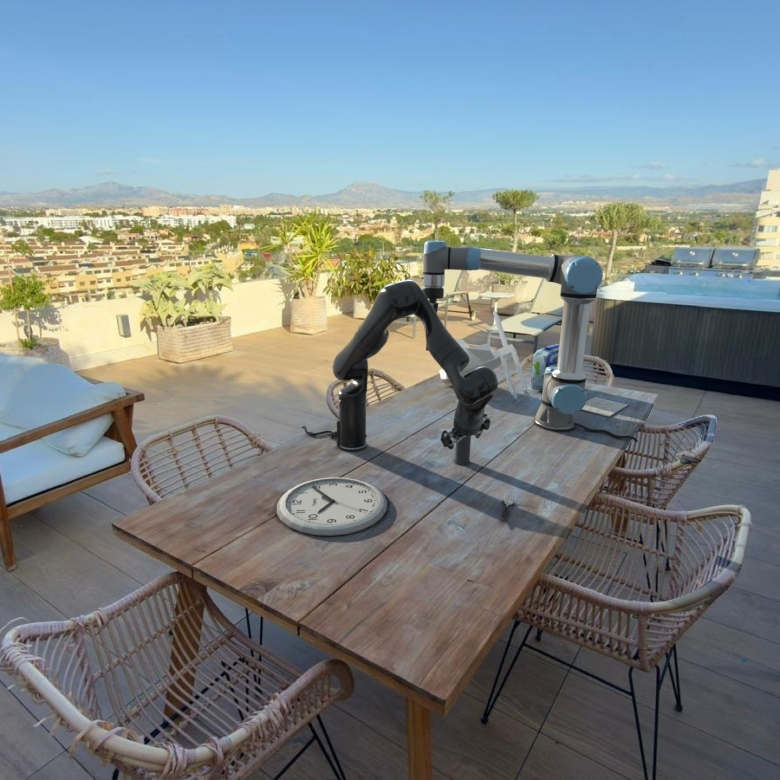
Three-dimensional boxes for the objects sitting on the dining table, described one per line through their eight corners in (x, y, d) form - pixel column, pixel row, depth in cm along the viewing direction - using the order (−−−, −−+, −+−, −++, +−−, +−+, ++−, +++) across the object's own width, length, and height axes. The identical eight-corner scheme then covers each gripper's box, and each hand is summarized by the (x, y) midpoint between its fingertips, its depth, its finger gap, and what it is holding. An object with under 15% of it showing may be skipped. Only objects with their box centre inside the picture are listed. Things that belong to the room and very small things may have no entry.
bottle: (466, 458, 173) (470, 392, 167) (471, 464, 169) (476, 397, 162) (452, 459, 172) (456, 393, 166) (457, 465, 168) (461, 397, 161)
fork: (496, 524, 135) (497, 517, 134) (505, 496, 149) (506, 489, 148) (506, 526, 134) (507, 519, 133) (514, 497, 148) (515, 491, 148)
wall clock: (392, 527, 129) (268, 531, 127) (391, 533, 130) (269, 537, 127) (383, 473, 158) (282, 475, 155) (383, 478, 158) (282, 480, 156)
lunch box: (547, 396, 238) (552, 351, 232) (526, 391, 246) (531, 347, 239) (574, 385, 256) (579, 343, 250) (554, 380, 263) (559, 340, 257)
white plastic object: (461, 429, 252) (437, 405, 227) (444, 352, 274) (420, 323, 250) (535, 404, 240) (518, 377, 215) (510, 326, 262) (492, 293, 237)
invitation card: (608, 416, 214) (573, 407, 224) (608, 416, 214) (573, 408, 224) (628, 404, 229) (594, 396, 238) (628, 405, 229) (594, 397, 238)
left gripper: (485, 395, 142) (478, 421, 156) (438, 414, 139) (435, 439, 154) (499, 418, 138) (491, 442, 152) (451, 438, 136) (447, 461, 150)
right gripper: (424, 282, 194) (422, 338, 201) (420, 290, 171) (418, 353, 177) (444, 283, 193) (442, 339, 200) (443, 291, 170) (440, 354, 176)
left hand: (463, 441), depth 153 cm, fingers open, 8 cm apart
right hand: (430, 346), depth 188 cm, fingers open, 13 cm apart
